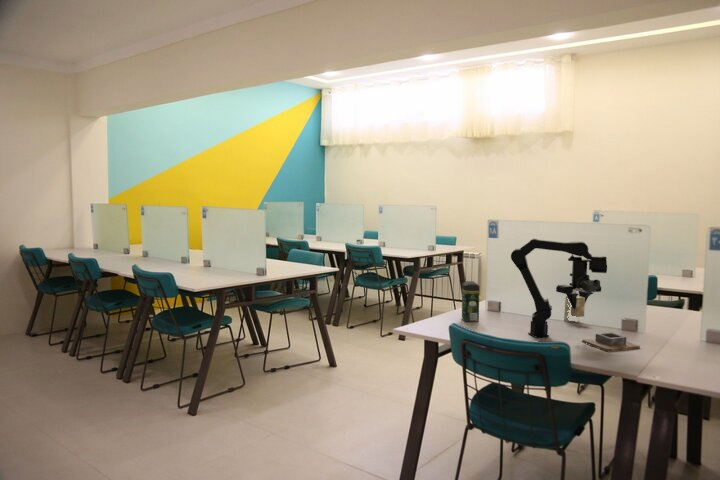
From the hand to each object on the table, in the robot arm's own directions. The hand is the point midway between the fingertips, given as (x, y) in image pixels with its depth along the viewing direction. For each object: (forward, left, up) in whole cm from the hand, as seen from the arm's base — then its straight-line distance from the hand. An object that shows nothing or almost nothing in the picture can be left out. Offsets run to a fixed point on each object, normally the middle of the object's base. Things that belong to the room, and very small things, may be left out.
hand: (577, 308), depth 227 cm
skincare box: (+20, +27, -13) cm, 36 cm away
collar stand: (+7, -12, -13) cm, 19 cm away
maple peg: (0, 0, -3) cm, 3 cm away
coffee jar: (-26, +43, -13) cm, 52 cm away
